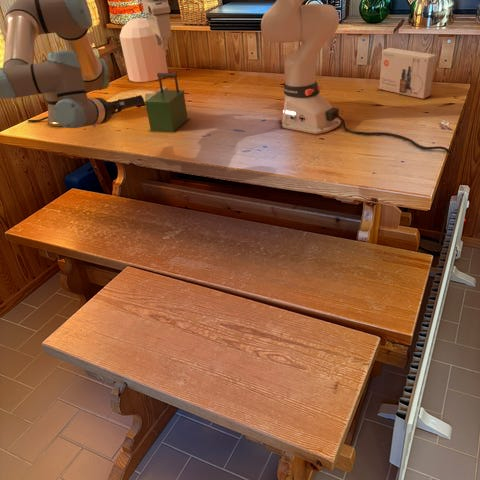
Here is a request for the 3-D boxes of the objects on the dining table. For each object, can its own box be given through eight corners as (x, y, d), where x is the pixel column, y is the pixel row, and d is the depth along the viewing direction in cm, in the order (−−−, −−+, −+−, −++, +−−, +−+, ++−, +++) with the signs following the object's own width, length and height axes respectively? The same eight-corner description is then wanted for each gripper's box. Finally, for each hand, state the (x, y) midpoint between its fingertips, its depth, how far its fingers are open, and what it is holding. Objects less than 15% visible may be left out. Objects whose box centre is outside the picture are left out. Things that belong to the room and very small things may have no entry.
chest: (166, 118, 188) (161, 92, 182) (187, 119, 185) (183, 93, 179) (150, 130, 177) (145, 104, 172) (173, 131, 174) (169, 105, 169)
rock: (145, 102, 210) (147, 105, 201) (142, 87, 208) (144, 90, 199) (168, 98, 212) (171, 101, 203) (166, 84, 210) (168, 86, 201)
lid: (162, 92, 182) (158, 71, 178) (184, 92, 179) (181, 71, 175) (145, 104, 172) (140, 81, 167) (168, 104, 169) (165, 82, 164)
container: (160, 81, 233) (149, 21, 217) (121, 82, 238) (108, 23, 222) (174, 69, 249) (165, 13, 233) (138, 70, 254) (126, 15, 238)
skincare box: (377, 89, 194) (381, 50, 185) (385, 86, 197) (389, 47, 188) (423, 99, 180) (429, 56, 171) (430, 95, 183) (437, 53, 174)
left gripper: (63, 136, 138) (98, 130, 158) (136, 110, 132) (162, 107, 151) (53, 112, 137) (89, 108, 156) (126, 84, 130) (154, 84, 150)
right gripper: (141, 3, 168) (148, 43, 176) (152, 10, 152) (160, 54, 160) (158, 1, 170) (164, 41, 178) (171, 7, 154) (177, 51, 162)
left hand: (125, 108), depth 154 cm, fingers open, 13 cm apart
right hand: (162, 47), depth 169 cm, fingers open, 8 cm apart
